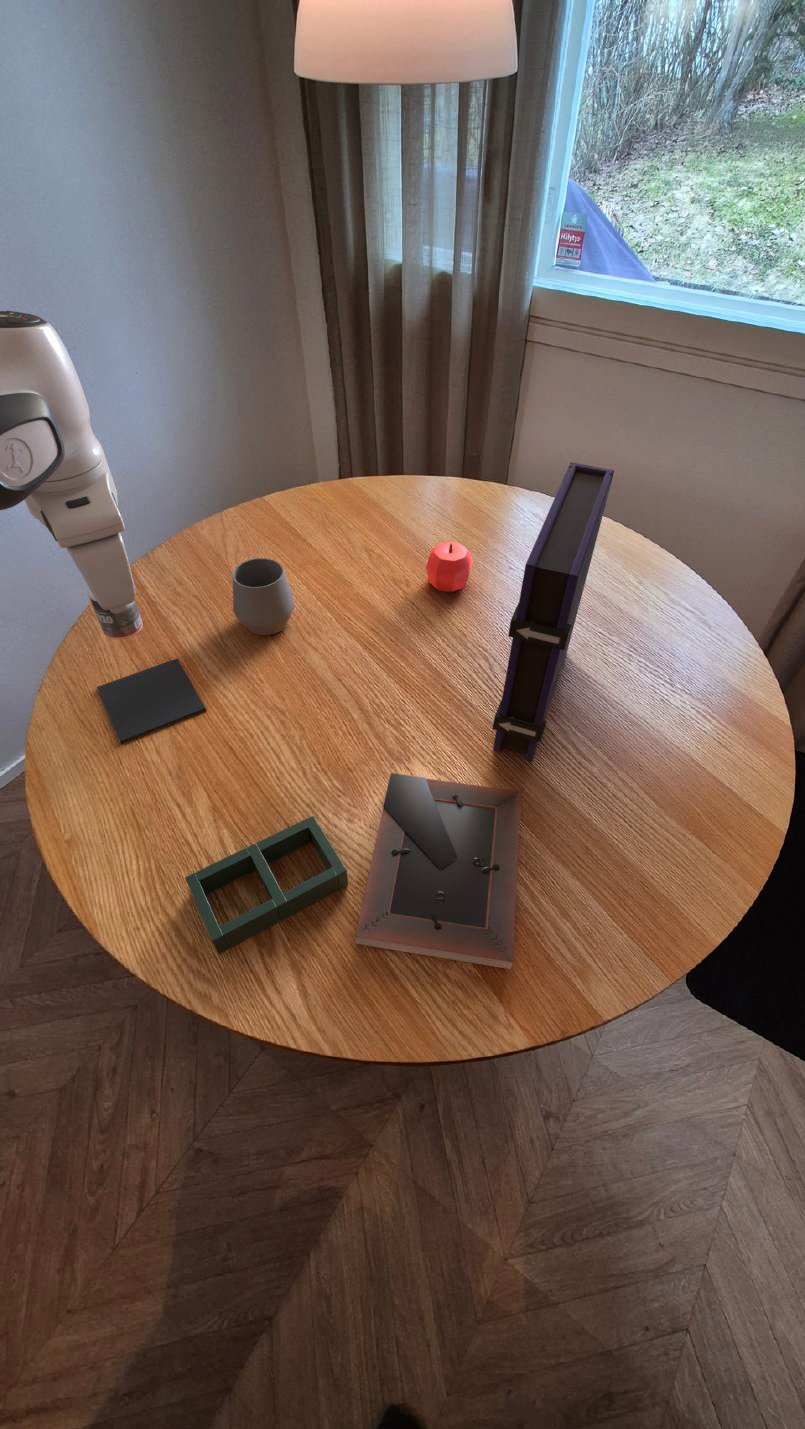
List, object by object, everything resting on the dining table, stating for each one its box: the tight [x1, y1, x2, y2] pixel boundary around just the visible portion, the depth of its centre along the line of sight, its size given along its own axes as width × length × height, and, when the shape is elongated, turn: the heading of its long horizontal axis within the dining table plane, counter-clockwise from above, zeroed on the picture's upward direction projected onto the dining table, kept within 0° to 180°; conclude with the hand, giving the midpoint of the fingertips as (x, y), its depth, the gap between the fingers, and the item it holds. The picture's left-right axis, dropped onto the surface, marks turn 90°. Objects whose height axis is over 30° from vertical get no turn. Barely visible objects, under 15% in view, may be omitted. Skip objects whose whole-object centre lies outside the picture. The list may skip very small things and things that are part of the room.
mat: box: [96, 657, 207, 745], centre depth 94 cm, size 12×12×1 cm
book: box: [492, 462, 615, 763], centre depth 84 cm, size 24×6×30 cm, turn 159°
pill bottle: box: [87, 587, 144, 640], centre depth 79 cm, size 5×5×8 cm
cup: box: [232, 557, 295, 636], centre depth 102 cm, size 10×9×10 cm
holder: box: [184, 815, 349, 955], centre depth 74 cm, size 16×8×4 cm, turn 121°
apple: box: [425, 541, 474, 593], centre depth 111 cm, size 8×8×8 cm
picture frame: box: [354, 772, 522, 970], centre depth 76 cm, size 16×2×22 cm
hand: (110, 594), depth 78 cm, fingers closed on pill bottle, 5 cm apart
